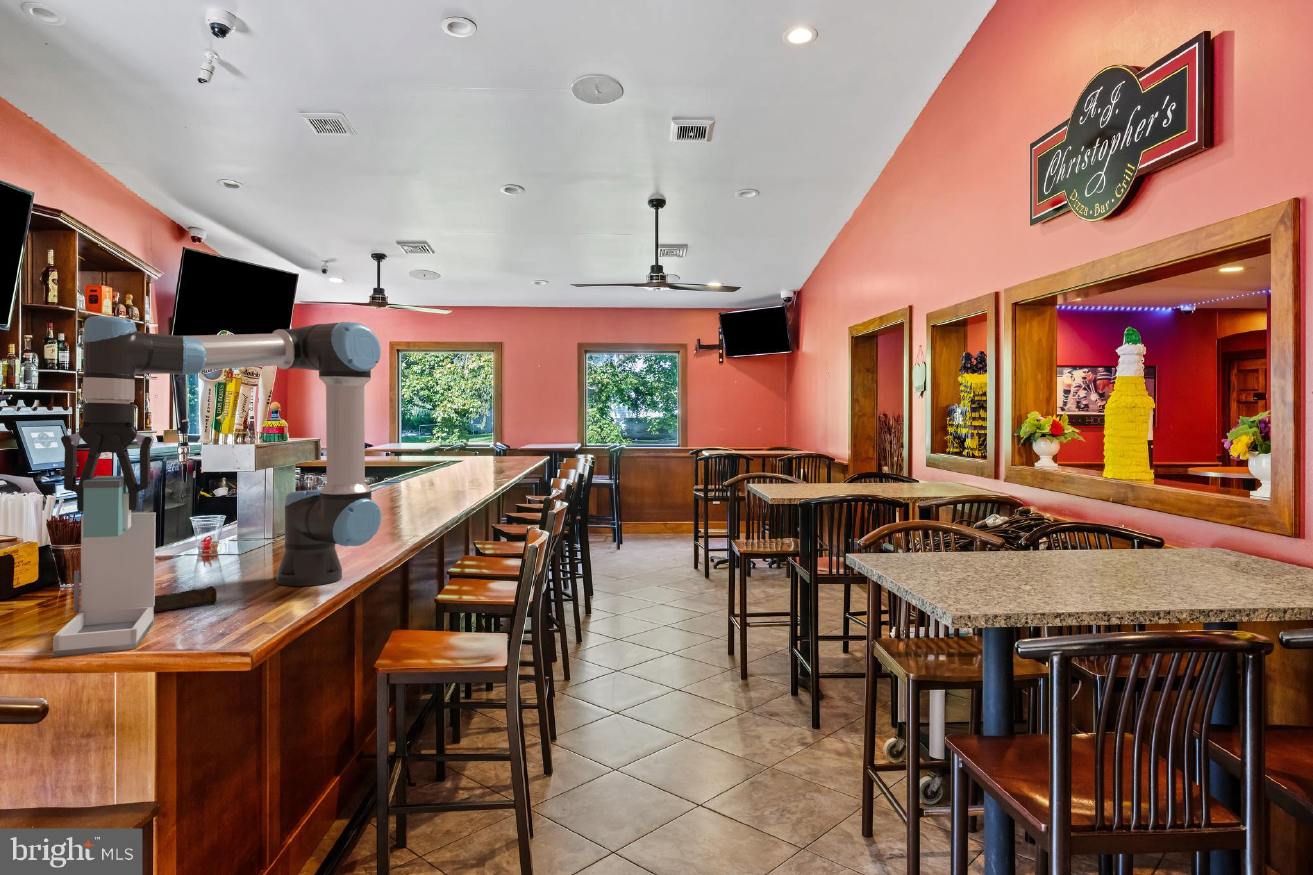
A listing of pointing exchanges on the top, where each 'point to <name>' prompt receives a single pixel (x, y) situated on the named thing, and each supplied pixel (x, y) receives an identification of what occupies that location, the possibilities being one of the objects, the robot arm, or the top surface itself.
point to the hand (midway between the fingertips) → (107, 528)
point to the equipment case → (113, 591)
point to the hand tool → (185, 599)
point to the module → (103, 506)
